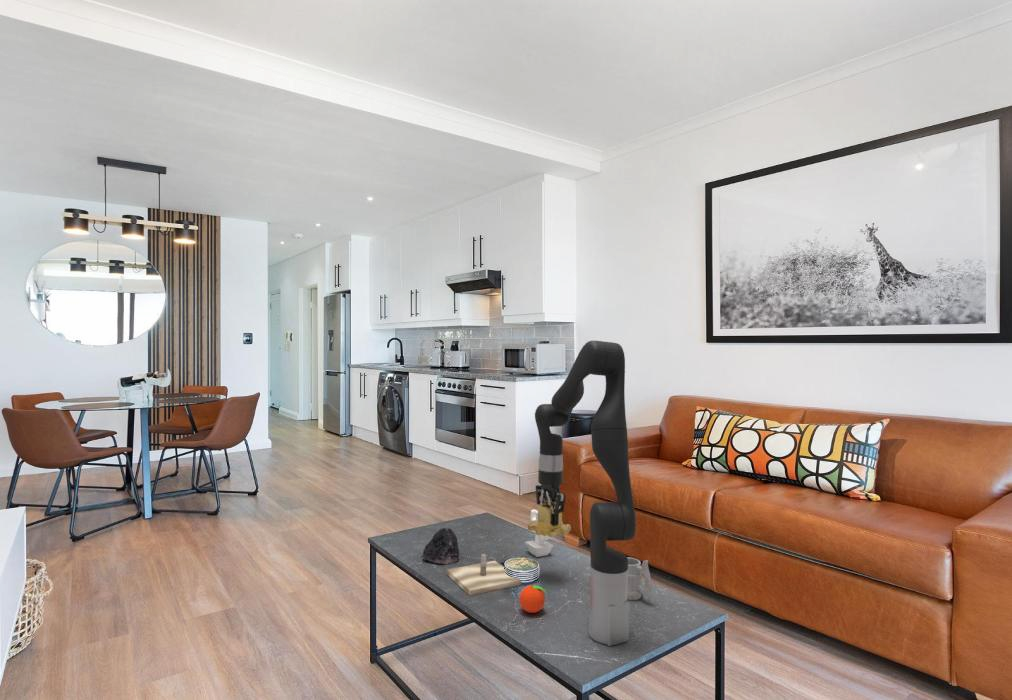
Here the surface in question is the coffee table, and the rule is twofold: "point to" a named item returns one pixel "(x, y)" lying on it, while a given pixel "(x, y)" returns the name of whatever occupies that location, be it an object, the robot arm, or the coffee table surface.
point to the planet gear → (548, 523)
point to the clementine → (532, 598)
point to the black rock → (442, 547)
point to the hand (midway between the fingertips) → (549, 522)
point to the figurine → (538, 541)
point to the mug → (638, 579)
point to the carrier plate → (482, 577)
